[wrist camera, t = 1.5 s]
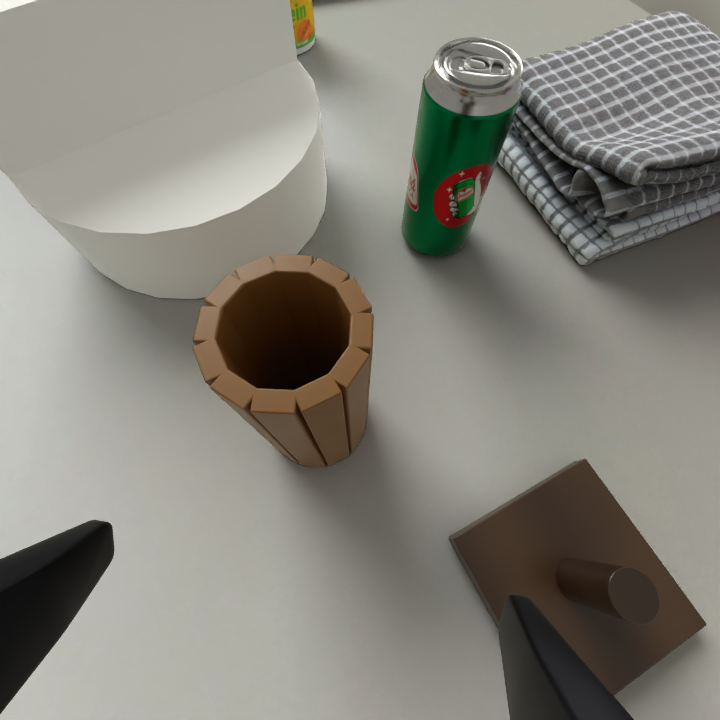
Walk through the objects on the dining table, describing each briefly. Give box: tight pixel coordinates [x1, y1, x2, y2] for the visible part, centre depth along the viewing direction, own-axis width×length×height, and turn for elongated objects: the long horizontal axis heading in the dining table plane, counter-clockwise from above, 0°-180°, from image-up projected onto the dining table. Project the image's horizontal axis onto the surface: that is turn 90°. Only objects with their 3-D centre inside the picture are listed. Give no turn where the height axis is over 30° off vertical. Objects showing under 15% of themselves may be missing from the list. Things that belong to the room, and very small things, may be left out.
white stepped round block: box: [0, 0, 327, 299], centre depth 25 cm, size 20×20×13 cm
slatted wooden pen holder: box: [193, 254, 374, 467], centre depth 18 cm, size 6×6×12 cm
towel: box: [498, 11, 720, 265], centre depth 29 cm, size 15×18×8 cm
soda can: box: [402, 37, 523, 256], centre depth 24 cm, size 5×5×12 cm
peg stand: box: [449, 459, 706, 696], centre depth 18 cm, size 9×9×6 cm
